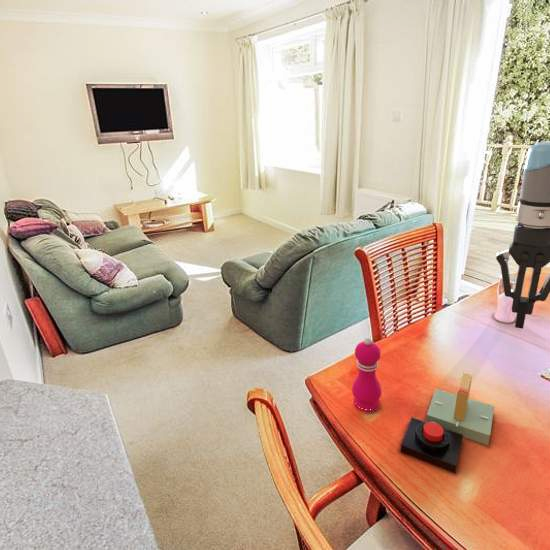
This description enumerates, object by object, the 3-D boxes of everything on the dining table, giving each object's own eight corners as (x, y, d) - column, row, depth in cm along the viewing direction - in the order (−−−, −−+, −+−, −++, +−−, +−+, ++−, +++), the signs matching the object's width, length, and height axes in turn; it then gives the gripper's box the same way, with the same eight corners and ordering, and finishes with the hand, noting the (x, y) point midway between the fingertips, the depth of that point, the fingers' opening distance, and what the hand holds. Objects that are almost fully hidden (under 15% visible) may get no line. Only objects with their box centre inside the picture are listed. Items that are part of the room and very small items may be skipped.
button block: (461, 441, 83) (464, 428, 81) (455, 473, 76) (457, 459, 75) (410, 424, 89) (412, 411, 87) (400, 452, 82) (401, 438, 80)
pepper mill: (382, 415, 92) (385, 347, 84) (352, 413, 93) (352, 346, 85) (379, 394, 98) (382, 330, 90) (351, 393, 100) (352, 329, 92)
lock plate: (492, 413, 90) (494, 403, 88) (487, 447, 81) (490, 437, 80) (435, 396, 96) (436, 386, 95) (425, 426, 88) (426, 415, 86)
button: (444, 431, 81) (445, 425, 81) (440, 445, 78) (441, 439, 78) (425, 425, 84) (425, 419, 83) (421, 438, 80) (421, 432, 80)
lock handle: (458, 399, 91) (462, 371, 87) (467, 401, 90) (472, 374, 86) (453, 418, 85) (457, 390, 82) (463, 421, 84) (467, 393, 81)
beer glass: (491, 320, 126) (498, 280, 119) (493, 311, 131) (501, 272, 125) (515, 325, 122) (524, 284, 116) (517, 315, 127) (525, 275, 121)
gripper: (499, 227, 75) (484, 327, 84) (581, 231, 68) (555, 339, 78) (500, 217, 81) (487, 312, 90) (576, 220, 74) (553, 322, 84)
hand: (519, 325), depth 84 cm, fingers closed
